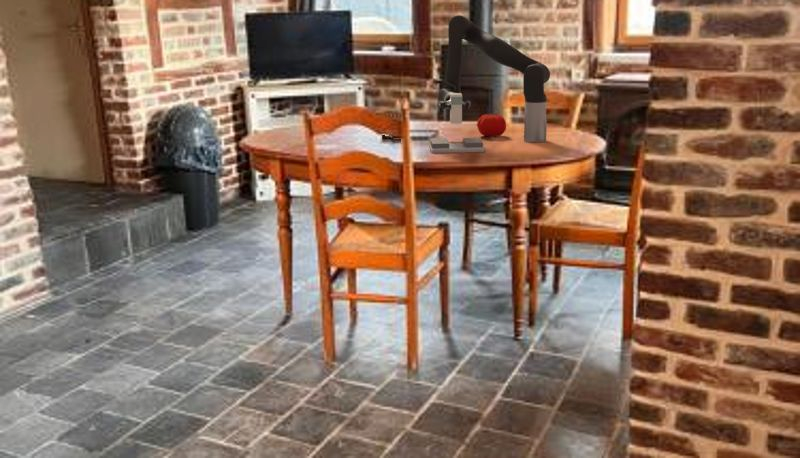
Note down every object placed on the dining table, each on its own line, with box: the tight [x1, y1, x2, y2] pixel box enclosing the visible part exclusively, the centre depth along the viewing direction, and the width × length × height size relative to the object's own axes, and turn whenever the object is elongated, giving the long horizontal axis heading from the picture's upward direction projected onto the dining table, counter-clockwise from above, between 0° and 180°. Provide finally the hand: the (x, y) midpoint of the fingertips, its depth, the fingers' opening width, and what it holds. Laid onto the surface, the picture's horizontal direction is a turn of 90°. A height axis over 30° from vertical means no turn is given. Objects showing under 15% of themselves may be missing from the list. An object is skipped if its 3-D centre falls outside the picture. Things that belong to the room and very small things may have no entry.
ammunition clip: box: [381, 112, 401, 141], centre depth 354 cm, size 11×2×12 cm, turn 88°
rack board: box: [428, 137, 486, 154], centre depth 327 cm, size 22×16×4 cm
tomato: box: [476, 112, 507, 137], centre depth 356 cm, size 13×12×11 cm
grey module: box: [449, 92, 463, 125], centre depth 323 cm, size 5×5×12 cm
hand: (456, 106), depth 320 cm, fingers closed on grey module, 4 cm apart
